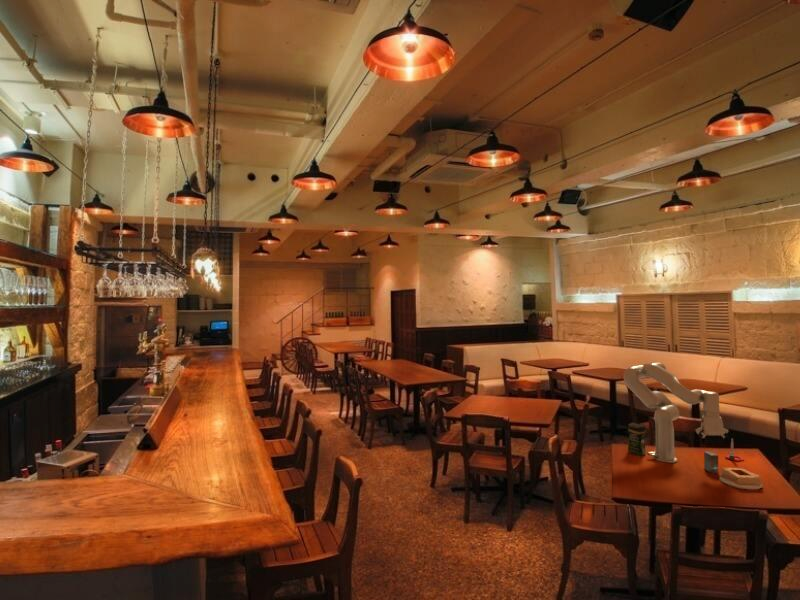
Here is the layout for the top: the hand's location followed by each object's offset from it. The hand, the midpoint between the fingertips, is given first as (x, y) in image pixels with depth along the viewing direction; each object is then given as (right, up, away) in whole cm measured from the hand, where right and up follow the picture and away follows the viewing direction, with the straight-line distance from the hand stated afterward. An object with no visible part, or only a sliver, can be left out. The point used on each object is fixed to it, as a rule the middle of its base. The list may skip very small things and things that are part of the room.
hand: (712, 444), depth 254 cm
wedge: (0, -15, +1) cm, 15 cm away
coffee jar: (-27, -15, +30) cm, 43 cm away
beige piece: (+4, -15, -16) cm, 22 cm away
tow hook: (+27, -15, +19) cm, 36 cm away
